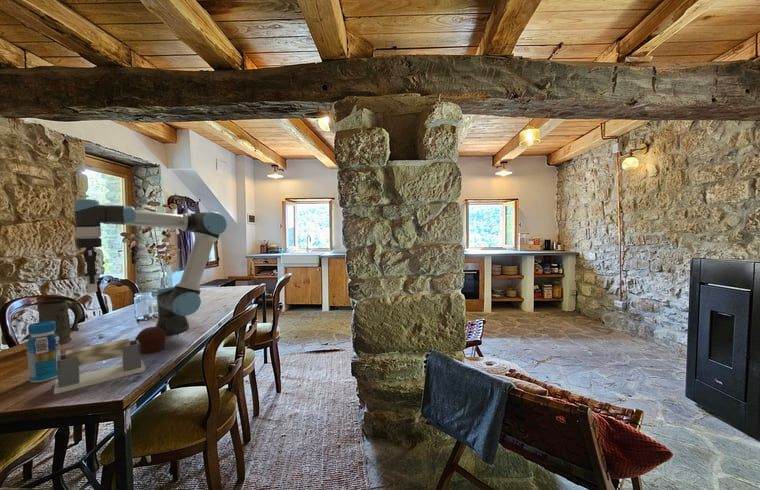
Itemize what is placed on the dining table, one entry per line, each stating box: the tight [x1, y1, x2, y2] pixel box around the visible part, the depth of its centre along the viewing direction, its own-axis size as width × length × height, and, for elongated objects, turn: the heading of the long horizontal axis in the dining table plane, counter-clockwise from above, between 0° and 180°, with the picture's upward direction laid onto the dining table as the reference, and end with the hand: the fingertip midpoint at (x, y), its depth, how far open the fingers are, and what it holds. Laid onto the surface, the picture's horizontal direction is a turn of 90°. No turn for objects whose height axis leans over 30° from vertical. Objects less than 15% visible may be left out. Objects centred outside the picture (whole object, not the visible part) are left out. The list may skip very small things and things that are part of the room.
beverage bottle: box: [25, 321, 61, 383], centre depth 115 cm, size 8×8×20 cm
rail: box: [65, 338, 131, 367], centre depth 114 cm, size 17×4×5 cm, turn 133°
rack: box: [53, 339, 146, 395], centre depth 115 cm, size 24×10×10 cm, turn 133°
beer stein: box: [36, 300, 82, 346], centre depth 152 cm, size 15×11×20 cm
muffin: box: [134, 326, 167, 355], centre depth 139 cm, size 12×11×10 cm
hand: (92, 289), depth 130 cm, fingers open, 13 cm apart
